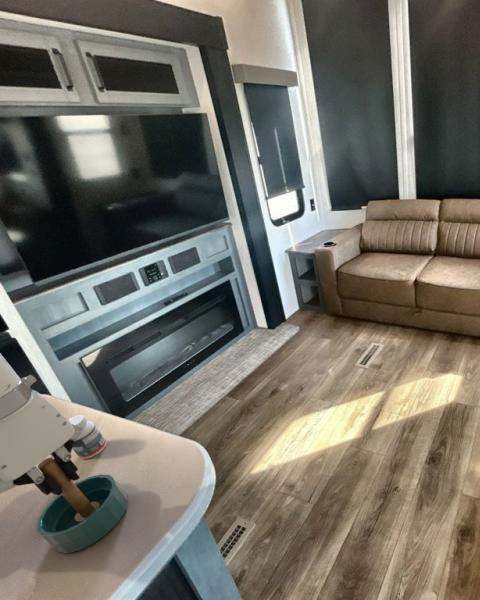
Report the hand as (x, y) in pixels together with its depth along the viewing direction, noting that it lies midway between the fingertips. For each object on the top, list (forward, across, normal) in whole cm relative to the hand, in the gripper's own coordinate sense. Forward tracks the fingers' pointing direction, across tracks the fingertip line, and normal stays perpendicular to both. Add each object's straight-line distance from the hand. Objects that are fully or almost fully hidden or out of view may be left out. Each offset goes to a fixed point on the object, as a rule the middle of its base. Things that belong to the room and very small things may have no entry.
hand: (63, 484), depth 61 cm
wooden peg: (+9, 0, 0) cm, 9 cm away
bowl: (+11, 0, -1) cm, 11 cm away
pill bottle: (+11, -12, -19) cm, 25 cm away
